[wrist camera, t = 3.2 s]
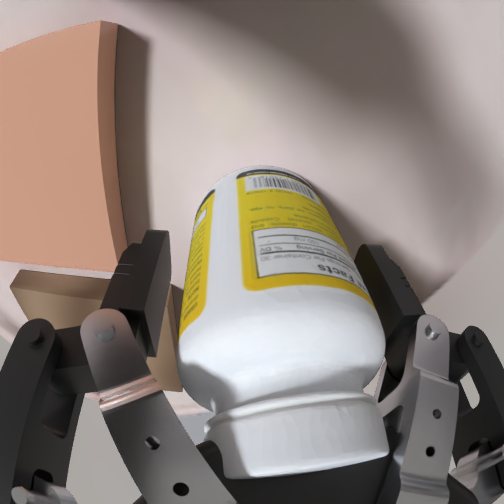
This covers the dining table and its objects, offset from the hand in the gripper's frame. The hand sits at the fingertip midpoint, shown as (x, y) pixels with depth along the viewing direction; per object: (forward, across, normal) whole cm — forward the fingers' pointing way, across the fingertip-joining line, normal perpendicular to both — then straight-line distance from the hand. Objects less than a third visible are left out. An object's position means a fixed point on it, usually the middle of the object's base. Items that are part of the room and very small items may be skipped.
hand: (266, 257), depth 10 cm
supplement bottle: (+3, 0, 0) cm, 3 cm away
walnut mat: (+2, +9, +9) cm, 13 cm away
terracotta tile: (+2, +11, -3) cm, 12 cm away
